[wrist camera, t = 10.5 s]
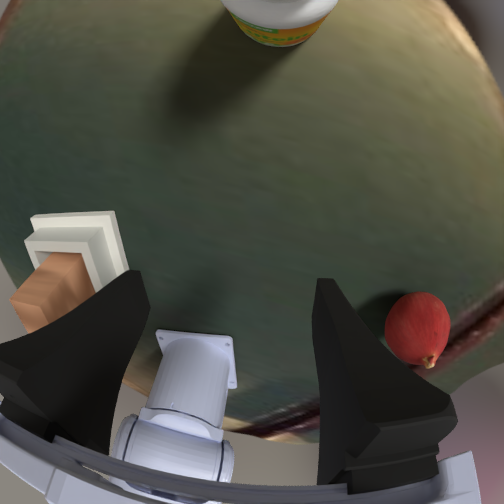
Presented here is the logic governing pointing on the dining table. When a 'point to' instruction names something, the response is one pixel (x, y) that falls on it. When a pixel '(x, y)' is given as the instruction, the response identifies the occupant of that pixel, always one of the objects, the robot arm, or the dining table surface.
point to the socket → (80, 242)
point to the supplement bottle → (279, 19)
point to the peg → (52, 290)
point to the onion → (417, 328)
